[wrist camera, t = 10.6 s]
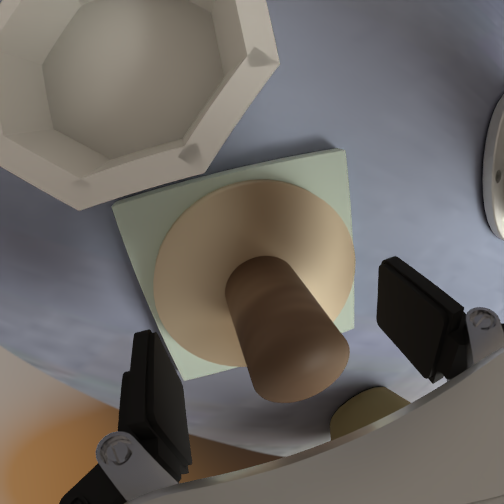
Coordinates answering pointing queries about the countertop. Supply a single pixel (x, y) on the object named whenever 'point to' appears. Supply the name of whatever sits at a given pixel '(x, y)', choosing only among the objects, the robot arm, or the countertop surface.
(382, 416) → the squeeze bottle
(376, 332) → the countertop surface
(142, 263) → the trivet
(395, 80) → the countertop surface
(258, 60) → the bowl
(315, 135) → the countertop surface
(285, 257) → the lid
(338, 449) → the robot arm
